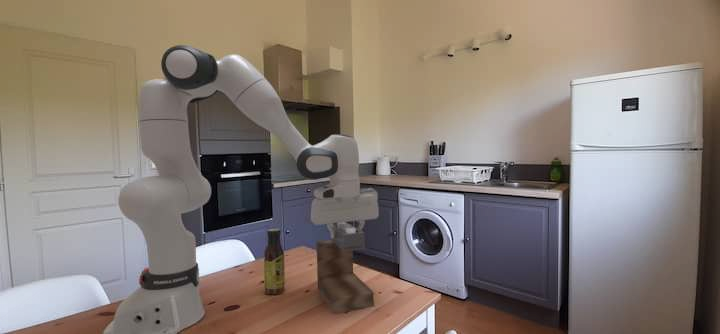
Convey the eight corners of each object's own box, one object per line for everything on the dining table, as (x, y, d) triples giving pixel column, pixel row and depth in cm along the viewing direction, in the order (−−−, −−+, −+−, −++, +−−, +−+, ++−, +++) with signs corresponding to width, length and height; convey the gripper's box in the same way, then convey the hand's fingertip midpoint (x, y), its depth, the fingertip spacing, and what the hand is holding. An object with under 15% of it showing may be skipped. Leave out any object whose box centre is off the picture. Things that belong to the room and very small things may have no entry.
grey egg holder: (344, 251, 88) (343, 231, 88) (330, 239, 101) (329, 222, 101) (364, 248, 90) (364, 229, 90) (348, 237, 103) (348, 220, 103)
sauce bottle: (279, 296, 101) (277, 232, 100) (261, 294, 102) (259, 232, 101) (288, 287, 107) (286, 227, 106) (270, 286, 108) (269, 227, 107)
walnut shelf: (333, 314, 89) (332, 258, 88) (317, 289, 105) (316, 241, 105) (373, 306, 93) (372, 252, 92) (352, 283, 110) (351, 237, 109)
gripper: (373, 186, 102) (374, 230, 102) (308, 191, 94) (310, 238, 95) (381, 188, 96) (382, 234, 96) (313, 193, 88) (315, 243, 89)
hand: (346, 236), depth 96 cm, fingers closed on grey egg holder, 6 cm apart
